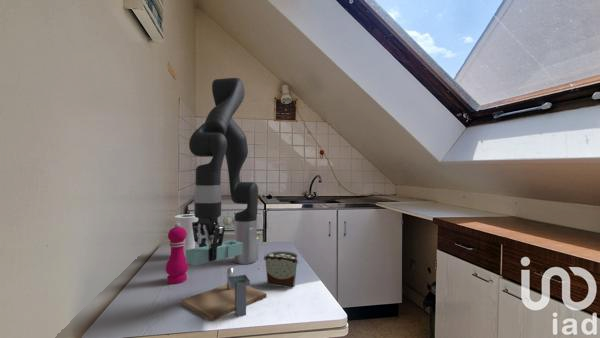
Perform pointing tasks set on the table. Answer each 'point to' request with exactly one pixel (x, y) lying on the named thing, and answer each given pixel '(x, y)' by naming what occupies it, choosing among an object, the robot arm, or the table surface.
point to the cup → (187, 229)
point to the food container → (281, 268)
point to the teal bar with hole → (224, 251)
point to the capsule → (229, 274)
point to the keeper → (239, 292)
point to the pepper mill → (177, 256)
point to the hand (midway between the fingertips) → (207, 258)
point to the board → (219, 301)
